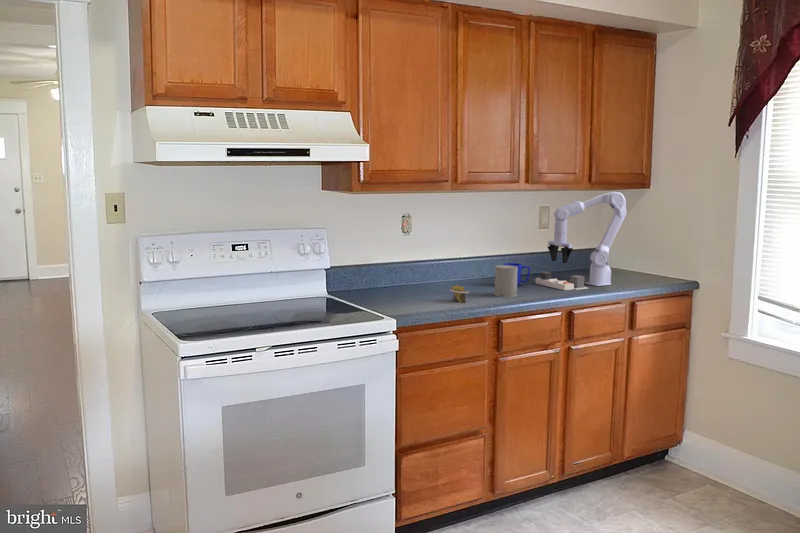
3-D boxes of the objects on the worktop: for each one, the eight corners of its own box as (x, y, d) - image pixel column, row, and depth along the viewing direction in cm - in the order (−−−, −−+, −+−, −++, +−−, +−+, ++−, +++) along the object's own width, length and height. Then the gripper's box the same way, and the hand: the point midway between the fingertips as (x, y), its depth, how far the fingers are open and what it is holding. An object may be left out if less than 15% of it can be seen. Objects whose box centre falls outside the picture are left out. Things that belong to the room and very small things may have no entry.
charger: (569, 286, 311) (570, 275, 310) (577, 286, 313) (577, 275, 312) (576, 288, 307) (577, 277, 306) (584, 287, 309) (584, 276, 308)
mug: (529, 287, 310) (530, 266, 308) (502, 286, 312) (503, 265, 310) (529, 284, 317) (530, 263, 316) (503, 283, 320) (504, 262, 318)
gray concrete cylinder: (503, 297, 285) (503, 268, 283) (489, 294, 293) (490, 265, 291) (521, 296, 289) (522, 267, 287) (507, 292, 297) (508, 264, 296)
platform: (458, 307, 266) (458, 291, 265) (433, 299, 281) (433, 284, 280) (483, 304, 272) (483, 288, 271) (456, 297, 287) (457, 281, 286)
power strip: (544, 282, 324) (544, 271, 323) (573, 289, 307) (574, 277, 306) (535, 283, 321) (535, 271, 321) (564, 290, 304) (565, 277, 303)
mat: (577, 286, 315) (577, 285, 315) (588, 288, 309) (588, 287, 309) (565, 287, 311) (565, 286, 311) (576, 289, 305) (576, 288, 305)
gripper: (543, 232, 323) (542, 260, 325) (564, 234, 310) (563, 264, 312) (555, 231, 326) (554, 259, 328) (576, 234, 313) (575, 263, 315)
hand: (559, 261), depth 320 cm, fingers open, 7 cm apart
